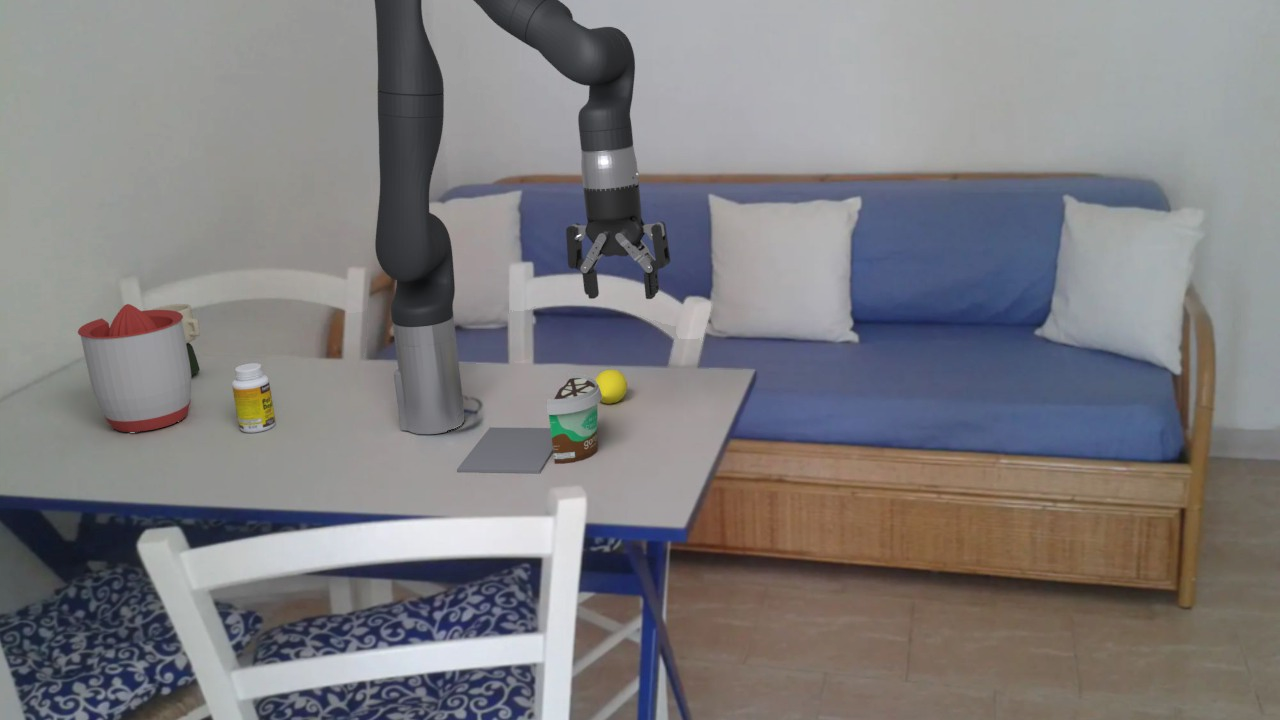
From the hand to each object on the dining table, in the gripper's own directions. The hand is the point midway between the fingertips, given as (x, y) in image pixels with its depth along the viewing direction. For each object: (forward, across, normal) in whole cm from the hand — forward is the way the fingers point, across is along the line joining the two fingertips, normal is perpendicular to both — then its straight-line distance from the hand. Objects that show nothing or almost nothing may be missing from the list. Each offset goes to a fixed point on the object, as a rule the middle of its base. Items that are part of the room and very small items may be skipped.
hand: (622, 297), depth 158 cm
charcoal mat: (+22, -17, -5) cm, 28 cm away
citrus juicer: (+20, -84, -6) cm, 86 cm away
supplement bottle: (+20, -62, -6) cm, 66 cm away
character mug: (+20, -94, +14) cm, 98 cm away
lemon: (+22, -11, +17) cm, 30 cm away
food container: (+22, -7, -4) cm, 24 cm away
